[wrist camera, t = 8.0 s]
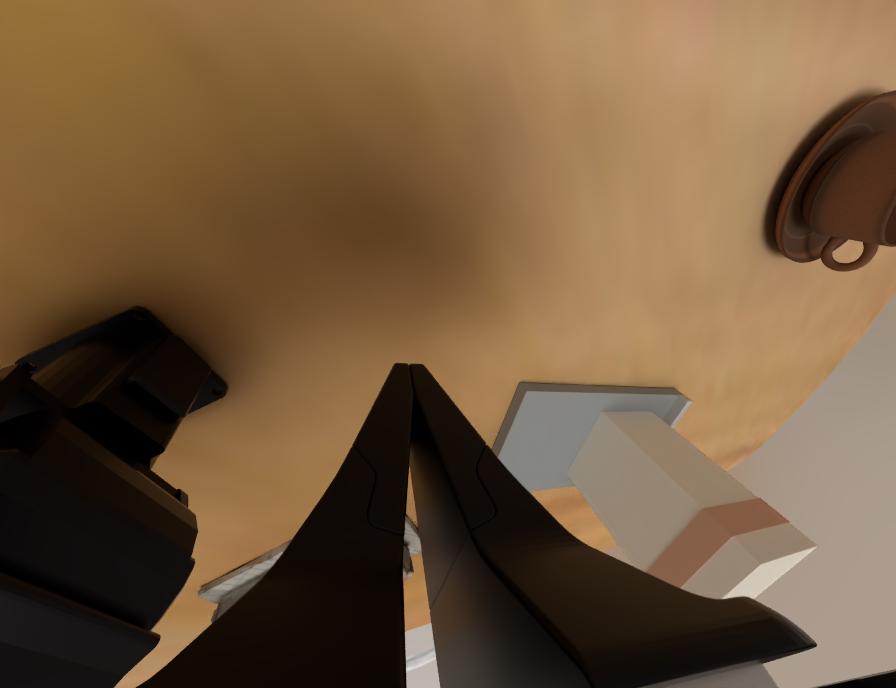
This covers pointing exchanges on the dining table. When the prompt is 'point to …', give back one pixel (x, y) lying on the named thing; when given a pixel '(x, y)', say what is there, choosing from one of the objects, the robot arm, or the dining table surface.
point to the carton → (681, 510)
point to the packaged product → (248, 575)
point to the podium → (568, 425)
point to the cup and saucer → (844, 189)
